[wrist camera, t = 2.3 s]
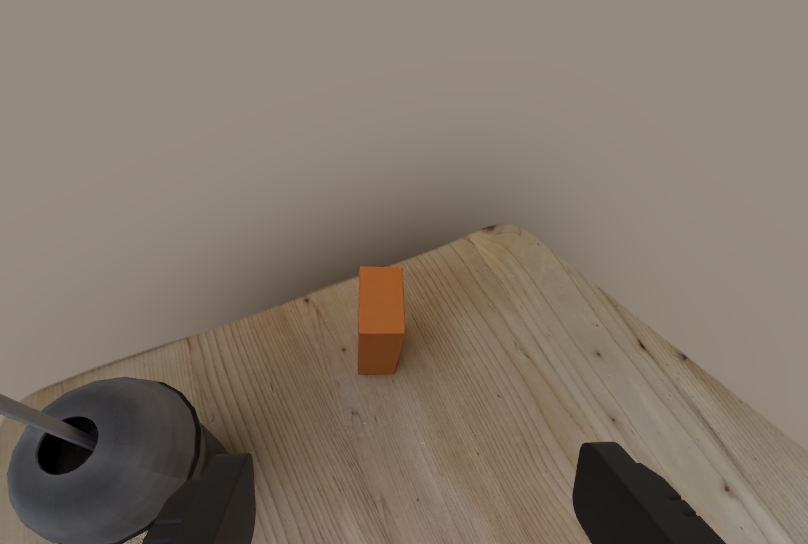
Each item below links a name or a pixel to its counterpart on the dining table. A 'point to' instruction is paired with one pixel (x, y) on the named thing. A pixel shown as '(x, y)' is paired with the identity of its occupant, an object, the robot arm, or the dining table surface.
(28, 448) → the beverage cup
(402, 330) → the block
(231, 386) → the dining table surface
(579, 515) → the robot arm
